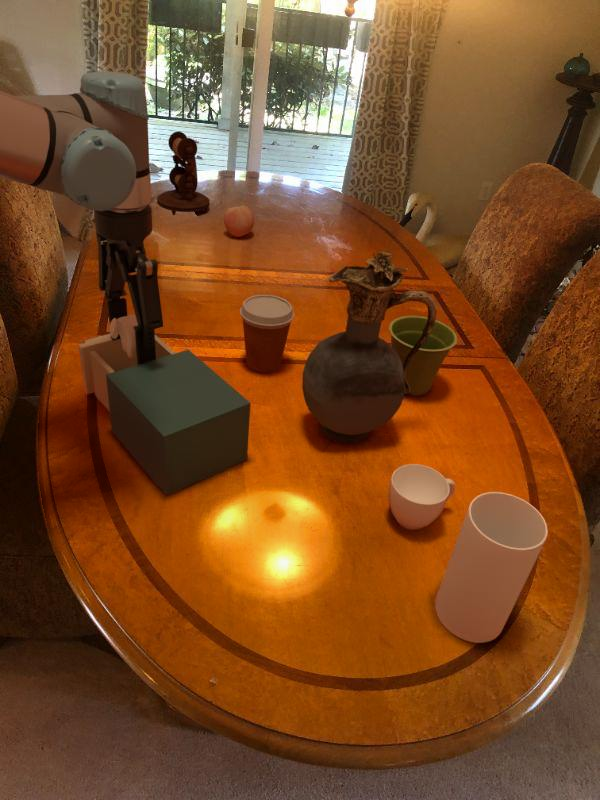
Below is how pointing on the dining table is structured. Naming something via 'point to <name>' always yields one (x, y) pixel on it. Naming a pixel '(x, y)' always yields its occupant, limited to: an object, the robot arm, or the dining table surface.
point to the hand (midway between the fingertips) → (133, 349)
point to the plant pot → (421, 350)
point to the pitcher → (362, 356)
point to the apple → (239, 220)
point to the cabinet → (178, 419)
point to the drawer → (108, 362)
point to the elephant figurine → (125, 333)
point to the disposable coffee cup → (265, 331)
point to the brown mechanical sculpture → (183, 178)
